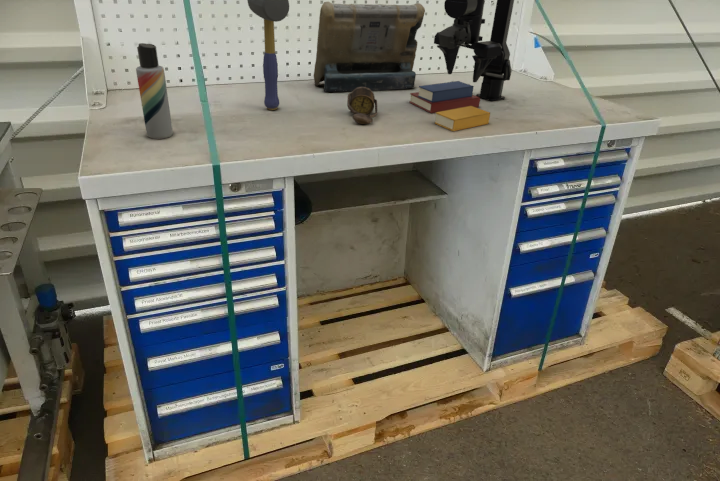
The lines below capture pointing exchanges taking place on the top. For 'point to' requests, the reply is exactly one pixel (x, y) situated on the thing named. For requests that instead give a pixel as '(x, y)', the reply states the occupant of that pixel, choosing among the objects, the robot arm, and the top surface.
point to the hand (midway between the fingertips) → (461, 78)
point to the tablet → (367, 46)
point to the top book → (462, 118)
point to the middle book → (445, 91)
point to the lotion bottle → (153, 93)
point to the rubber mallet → (270, 44)
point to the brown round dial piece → (362, 105)
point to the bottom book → (443, 103)
